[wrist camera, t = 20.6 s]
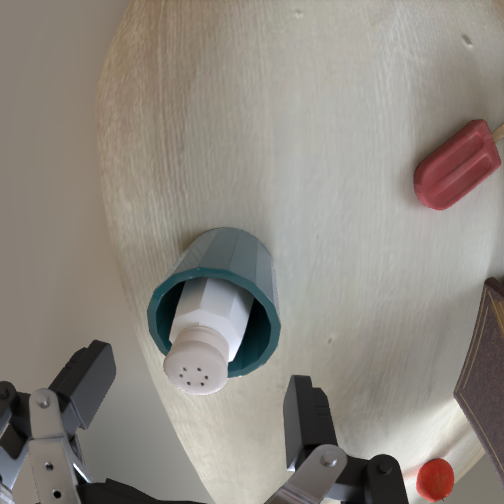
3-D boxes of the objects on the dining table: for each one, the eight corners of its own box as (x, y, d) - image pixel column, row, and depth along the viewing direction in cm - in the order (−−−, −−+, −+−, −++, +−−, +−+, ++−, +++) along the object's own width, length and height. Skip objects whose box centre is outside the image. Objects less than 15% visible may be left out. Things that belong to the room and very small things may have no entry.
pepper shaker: (193, 305, 22) (151, 409, 12) (185, 240, 20) (118, 320, 10) (261, 304, 22) (260, 416, 11) (259, 237, 20) (256, 324, 10)
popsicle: (524, 142, 15) (435, 222, 18) (513, 141, 16) (425, 217, 20) (508, 99, 14) (413, 173, 17) (497, 100, 15) (402, 171, 19)
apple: (407, 477, 37) (418, 514, 27) (418, 462, 34) (433, 502, 24) (438, 465, 36) (451, 499, 26) (451, 448, 34) (468, 485, 23)
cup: (170, 288, 23) (134, 345, 15) (205, 210, 20) (173, 242, 13) (247, 324, 23) (242, 393, 16) (291, 254, 21) (306, 307, 14)
